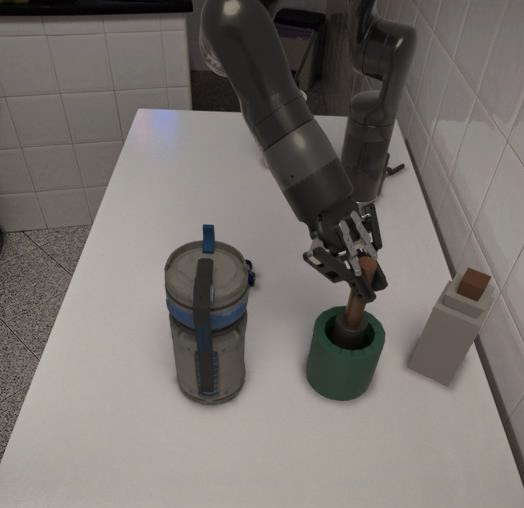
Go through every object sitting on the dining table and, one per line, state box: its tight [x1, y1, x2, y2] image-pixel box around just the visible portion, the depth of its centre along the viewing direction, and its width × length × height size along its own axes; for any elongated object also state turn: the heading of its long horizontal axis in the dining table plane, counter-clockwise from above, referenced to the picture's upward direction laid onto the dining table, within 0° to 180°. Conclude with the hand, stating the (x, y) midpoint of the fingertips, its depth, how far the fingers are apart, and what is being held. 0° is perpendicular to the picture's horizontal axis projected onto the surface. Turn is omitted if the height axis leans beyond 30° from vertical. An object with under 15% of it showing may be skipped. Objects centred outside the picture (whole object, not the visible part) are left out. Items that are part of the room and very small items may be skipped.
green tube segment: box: [305, 305, 386, 402], centre depth 75 cm, size 10×10×10 cm
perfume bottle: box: [407, 267, 496, 387], centre depth 75 cm, size 7×7×18 cm
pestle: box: [331, 257, 377, 351], centre depth 68 cm, size 4×4×16 cm
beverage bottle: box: [163, 223, 250, 405], centre depth 67 cm, size 10×13×25 cm
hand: (375, 294), depth 64 cm, fingers closed on pestle, 2 cm apart
